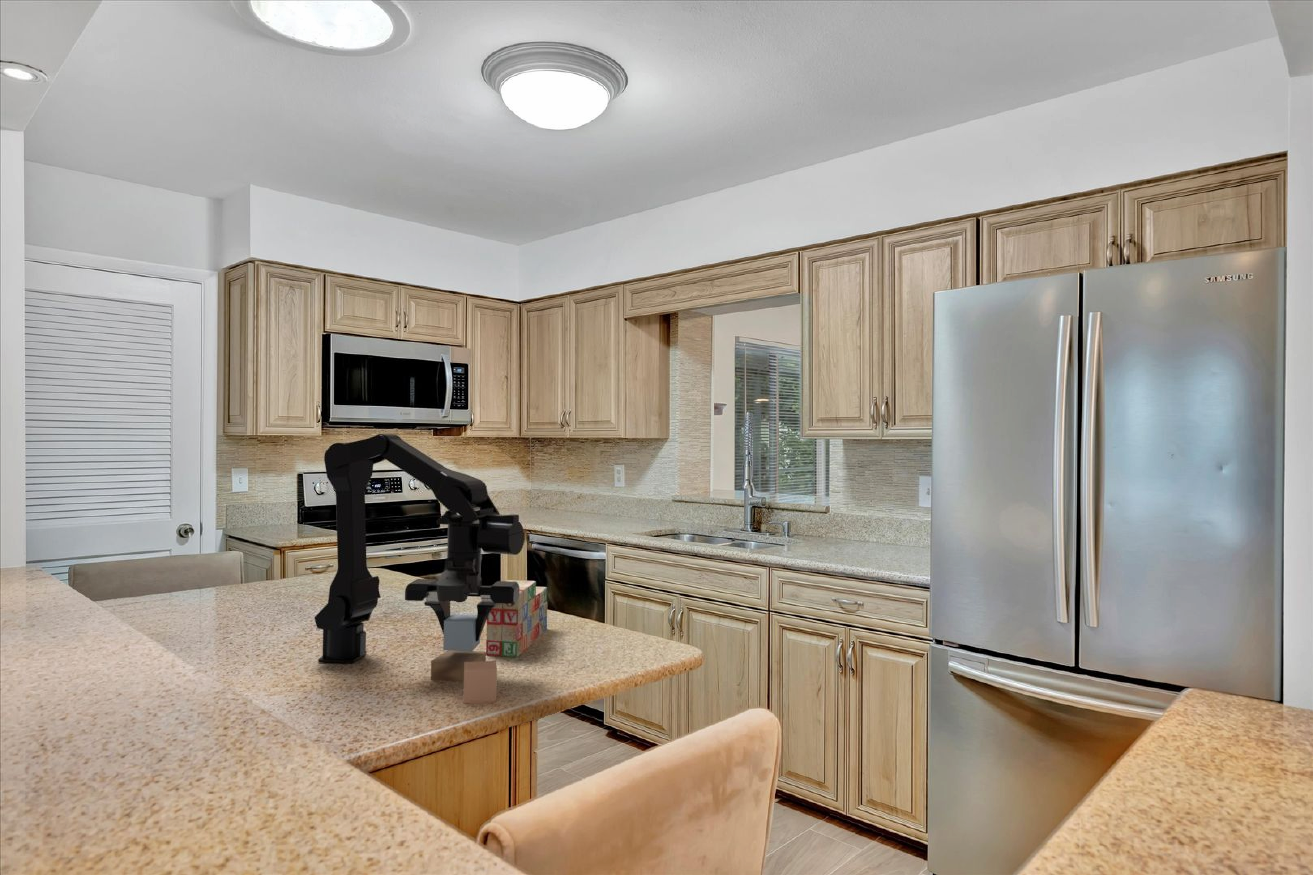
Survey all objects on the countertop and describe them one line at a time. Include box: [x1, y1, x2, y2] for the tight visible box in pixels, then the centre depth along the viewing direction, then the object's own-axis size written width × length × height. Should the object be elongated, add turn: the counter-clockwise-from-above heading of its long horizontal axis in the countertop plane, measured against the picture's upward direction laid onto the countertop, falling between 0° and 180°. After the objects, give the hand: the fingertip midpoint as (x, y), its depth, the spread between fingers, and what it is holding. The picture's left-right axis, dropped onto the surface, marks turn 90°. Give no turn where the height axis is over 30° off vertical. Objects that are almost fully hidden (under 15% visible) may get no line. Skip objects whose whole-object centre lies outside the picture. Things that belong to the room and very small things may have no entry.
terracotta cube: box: [462, 660, 498, 704], centre depth 120 cm, size 5×5×5 cm
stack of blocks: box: [485, 579, 548, 658], centre depth 153 cm, size 21×6×12 cm, turn 173°
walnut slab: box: [430, 650, 487, 683], centre depth 131 cm, size 7×7×4 cm
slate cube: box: [442, 613, 481, 651], centre depth 131 cm, size 5×5×5 cm
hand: (462, 640), depth 131 cm, fingers closed on slate cube, 5 cm apart
